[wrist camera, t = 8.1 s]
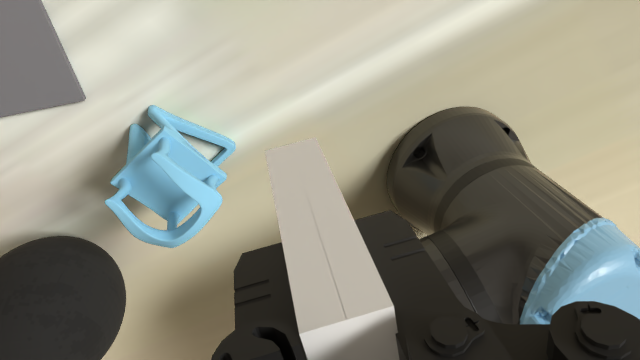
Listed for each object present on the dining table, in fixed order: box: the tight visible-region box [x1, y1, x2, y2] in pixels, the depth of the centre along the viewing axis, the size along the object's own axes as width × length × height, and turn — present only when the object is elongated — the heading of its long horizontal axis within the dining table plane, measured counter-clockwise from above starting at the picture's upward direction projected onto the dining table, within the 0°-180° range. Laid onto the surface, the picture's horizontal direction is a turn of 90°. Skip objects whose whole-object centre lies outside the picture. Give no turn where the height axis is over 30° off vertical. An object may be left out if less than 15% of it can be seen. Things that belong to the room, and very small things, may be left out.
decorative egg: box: [0, 236, 126, 360], centre depth 38 cm, size 12×12×15 cm
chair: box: [105, 105, 236, 248], centre depth 36 cm, size 8×8×12 cm
